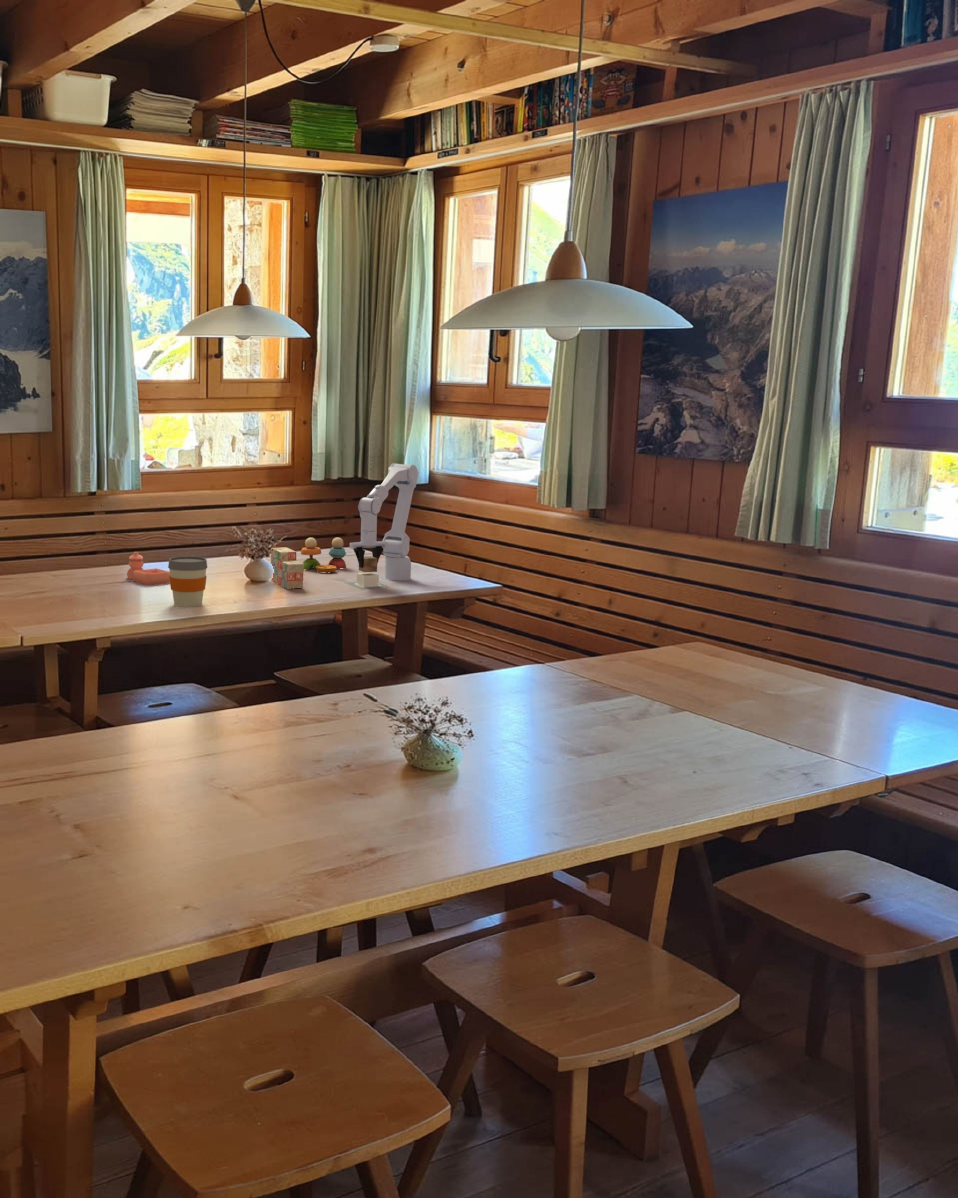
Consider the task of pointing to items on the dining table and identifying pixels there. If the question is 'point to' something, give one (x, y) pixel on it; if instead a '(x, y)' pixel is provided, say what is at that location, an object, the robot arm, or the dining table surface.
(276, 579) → the stack of blocks
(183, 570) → the reusable coffee cup
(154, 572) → the pottery
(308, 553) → the wooden stacking toy
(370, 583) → the base block
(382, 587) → the clear glass plate
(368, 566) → the walnut block
